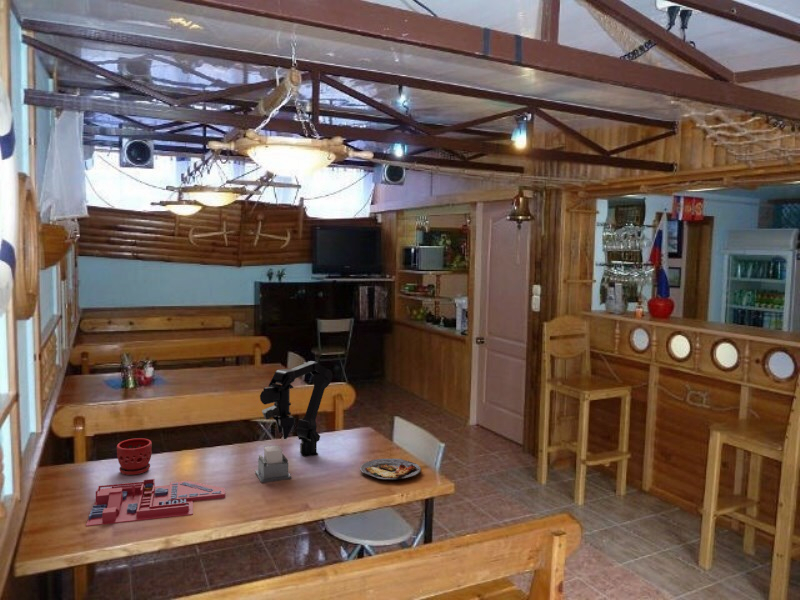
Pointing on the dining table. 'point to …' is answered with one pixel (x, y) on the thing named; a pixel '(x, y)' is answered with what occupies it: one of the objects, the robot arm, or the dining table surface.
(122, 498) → the red architectural model
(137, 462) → the plant pot
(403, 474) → the food plate
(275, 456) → the plain white cube
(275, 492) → the dining table surface
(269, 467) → the motor housing
